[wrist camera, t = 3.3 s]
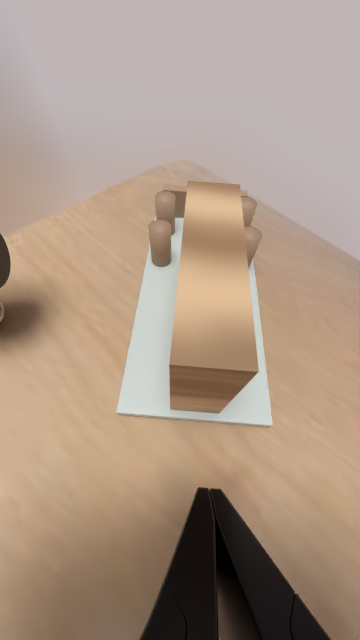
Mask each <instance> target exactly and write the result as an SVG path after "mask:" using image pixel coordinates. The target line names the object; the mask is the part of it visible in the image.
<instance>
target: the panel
mask: <svg viewBox="0 0 360 640" xmlns="http://www.w3.org/2000/svg"><path fill="white" fill-rule="evenodd" d="M240 191H241V201H242V211H243V221H244V231H245V240H246V250H247V260H248V270H249V280H250V290H251V299H252V309H253V319H254V329H255V339H256V349H257V359H258V368H259V372H258V373H257V374H256V375H255V376H254V378H253V379H252V380H251V381H250V382H249V383H248V384H247V385H246V386H245V387H244V388H243V389H242V390H241V391H240V392H239V393H238V394H237V395H236V396H235V397H234V398H233V400H232V401H231V402H230V403H229V404H228V405H227V406H226V407H225V408H224V409H223V410H222V411H221V412H220V413H219V414H217V413H205V412H193V411H181V410H170V377H169V363H170V353H171V343H172V333H173V323H174V313H175V303H176V293H177V283H178V273H179V263H180V253H181V243H182V233H183V223H184V213H185V203H186V194H187V186H174V185H164V188H163V191H161V192H158V193H157V194H156V195H155V205H156V216H155V221H152V222H151V223H150V224H149V237H150V246H149V251H148V256H147V261H146V266H145V271H144V276H143V281H142V286H141V291H140V296H139V301H138V306H137V311H136V316H135V321H134V326H133V331H132V336H131V341H130V346H129V351H128V356H127V361H126V366H125V371H124V376H123V381H122V386H121V391H120V396H119V401H118V406H117V411H116V413H117V414H118V415H130V416H142V417H154V418H166V419H178V420H190V421H202V422H214V423H226V424H238V425H250V426H262V427H270V426H273V424H272V416H271V407H270V399H269V390H268V382H267V373H266V365H265V357H264V348H263V340H262V331H261V323H260V314H259V306H258V297H257V289H256V280H255V272H254V263H253V257H254V255H255V252H256V250H257V247H258V245H259V242H260V240H261V237H262V234H261V232H260V231H259V230H258V229H257V228H255V227H251V226H250V224H251V221H252V218H253V215H254V212H255V209H256V206H257V202H256V201H255V200H254V199H252V198H249V197H248V195H247V191H242V190H240Z"/></svg>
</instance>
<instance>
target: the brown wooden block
mask: <svg viewBox="0 0 360 640" xmlns="http://www.w3.org/2000/svg"><path fill="white" fill-rule="evenodd" d="M258 372H259V368H258V359H257V349H256V339H255V329H254V319H253V309H252V299H251V290H250V280H249V270H248V260H247V250H246V240H245V231H244V221H243V211H242V201H241V191H240V185H237V184H224V183H210V182H197V181H188V184H187V194H186V203H185V213H184V223H183V233H182V243H181V253H180V263H179V273H178V283H177V293H176V303H175V313H174V323H173V333H172V343H171V353H170V363H169V377H170V410H181V411H193V412H205V413H217V414H219V413H220V412H221V411H222V410H223V409H224V408H225V407H226V406H227V405H228V404H229V403H230V402H231V401H232V400H233V398H234V397H235V396H236V395H237V394H238V393H239V392H240V391H241V390H242V389H243V388H244V387H245V386H246V385H247V384H248V383H249V382H250V381H251V380H252V379H253V378H254V376H255V375H256V374H257V373H258Z"/></svg>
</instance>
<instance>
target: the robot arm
mask: <svg viewBox="0 0 360 640" xmlns="http://www.w3.org/2000/svg"><path fill="white" fill-rule="evenodd" d="M218 625H219V631H220V638H221V640H331V639H330V637H329V636H328V635H327V633H326V632H325V631H324V629H323V628H322V627H321V625H320V624H319V623H318V621H317V620H316V619H315V618H314V616H313V615H312V614H311V612H310V611H309V610H308V608H307V607H306V605H305V604H304V603H303V601H302V600H301V599H300V597H299V596H298V594H295V591H294V590H293V588H292V587H291V585H290V584H289V583H288V581H287V580H286V579H285V577H284V576H283V574H282V573H281V572H280V570H279V569H278V567H277V566H276V565H275V563H274V562H273V561H272V559H271V558H270V556H269V555H268V554H267V552H266V551H265V549H264V548H263V547H262V545H261V544H260V543H259V541H258V540H257V538H256V537H255V536H254V534H253V533H252V532H251V530H250V529H249V527H248V526H247V525H246V523H245V522H244V520H243V519H242V518H241V516H240V515H239V514H238V512H237V511H236V509H235V508H234V507H233V505H232V504H231V503H230V501H229V500H228V498H227V497H226V496H225V494H224V493H223V491H222V490H221V489H214V488H211V489H210V490H209V489H208V488H201V487H199V488H197V491H196V494H195V496H194V499H193V502H192V505H191V507H190V510H189V513H188V515H187V518H186V521H185V524H184V526H183V529H182V532H181V535H180V537H179V540H178V543H177V546H176V548H175V551H174V554H173V557H172V559H171V562H170V565H169V568H168V570H167V573H166V576H165V579H164V582H163V583H162V586H161V589H160V591H159V594H158V597H157V599H156V602H155V604H154V607H153V609H152V612H151V614H150V617H149V619H148V622H147V624H146V626H145V628H144V630H143V633H142V635H141V637H140V639H139V640H219V638H218Z"/></svg>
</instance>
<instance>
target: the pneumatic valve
mask: <svg viewBox="0 0 360 640" xmlns="http://www.w3.org/2000/svg"><path fill="white" fill-rule="evenodd" d="M9 274H10V255H9V251H8V248H7V245H6V243H5V241H4V239H3V237H2V235H1V234H0V288H1V287H2V286H3V285H4V284H5V283H6V281H7V280H8V277H9ZM3 316H4V307H3V304H2V303H1V301H0V322H1V321H2V319H3Z"/></svg>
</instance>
